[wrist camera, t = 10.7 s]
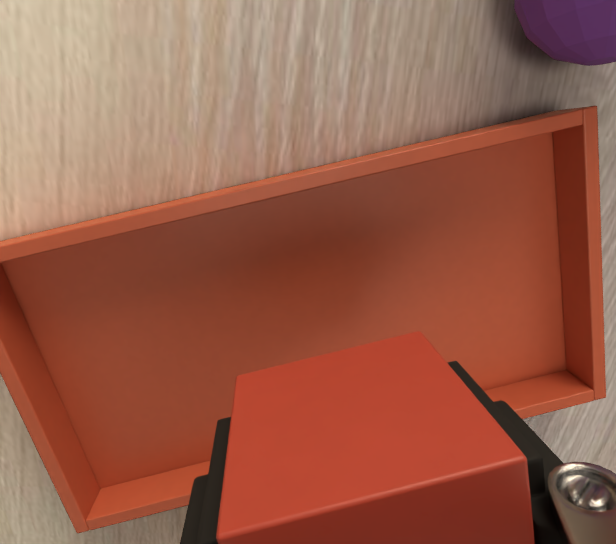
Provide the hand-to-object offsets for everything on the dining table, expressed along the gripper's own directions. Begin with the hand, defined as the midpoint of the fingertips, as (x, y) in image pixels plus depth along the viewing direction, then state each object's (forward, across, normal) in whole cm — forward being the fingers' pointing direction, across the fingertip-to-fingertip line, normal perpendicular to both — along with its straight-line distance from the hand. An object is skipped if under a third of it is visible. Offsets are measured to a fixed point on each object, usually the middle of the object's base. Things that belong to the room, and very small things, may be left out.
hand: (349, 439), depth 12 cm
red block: (0, 0, 0) cm, 0 cm away
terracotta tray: (+10, 0, 0) cm, 10 cm away
